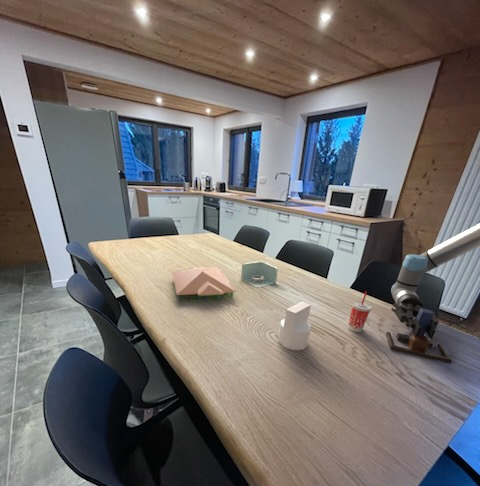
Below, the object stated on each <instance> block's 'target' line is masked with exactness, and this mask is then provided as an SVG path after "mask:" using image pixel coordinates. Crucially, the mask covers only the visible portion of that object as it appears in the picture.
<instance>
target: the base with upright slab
mask: <svg viewBox="0 0 480 486" xmlns="http://www.w3.org/2000/svg"><path fill="white" fill-rule="evenodd" d="M311 305H312V304H311V303H309V302H307V301H303V300H302V301H300V302H298V303H296V304H294V305H292V306H289V307H288V308H286V310H285V315H284V317H285V318H283V319H281V321H280V324H279V329H278V336H277V342H278V344H279V345H280V346H282V347H283V348H286V349H288V350H292V351H301V350H304V349H306V348H307V347H308V343H309V342H308V341H309V339H310V338H309V337H310V333H311V329H312V325H311V324H310V323H309V322H308V320H309V316H310V311H311V307H312V306H311Z"/></svg>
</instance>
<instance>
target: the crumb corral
mask: <svg viewBox="0 0 480 486" xmlns="http://www.w3.org/2000/svg"><path fill="white" fill-rule="evenodd" d="M385 336H386V339H387V342H388V345H389V349H390V350H391V351H395V352H399V353H404V354H407V355H408V354H409V355H412V356H417V357H421V358H425V359H429V360H435V361H438V362H443V363H447V364H451V363H452V362H453V361H452V358H451V356H450V355H449V353H448V351H447V350H446V349H445V347H444V345H443V343H441V342H437V343H436V347H437V349H438V351H439V352H440V354H441V355H438V354H435V353H429V352H421V351H416V350H412V349H410V348H406V347H404V346H403V347H402V346H398V345H395V342H394V339H393V337H392V334H391V332H390V331H386V334H385Z"/></svg>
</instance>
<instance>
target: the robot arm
mask: <svg viewBox="0 0 480 486" xmlns="http://www.w3.org/2000/svg"><path fill="white" fill-rule="evenodd" d="M479 247H480V222H479V223H477V224H475V225H473V226H471V227H469V228H467V229H466V230H464V231H462V232H460V233H458V234H456V235H454V236H452V237H451V238H449V239H447V240H445V241H444V242H442V243H439V244H437V245H436V246H434V247H432V248H430V249H428V250H427V251H424V252H423V253H420V254H414V253H413V254H407V255H406V256H405V258H404V260H403V261H402V265H401V268H400V270H399V273H398V277H397V280H396V282H395V283H394V284H393V285H392V286H391V289H390V292H391V297H392V298H393V300H394V302H395V303H393V304H392V307H391V311H392V312H393V313H394V314H395V315H396V317H397V319H398V320H399V322H400V323H406V324H405V326H406V327H409V328H410V329H413V331H414V333H415V335H416V336H419V334H420V331H421V329H422V328H421V326H420V324H419V323H418V321H417V319H416V317H417V315H418V312H419V310H420V308H422V309H426V308H425V307H424V304H423V302H422V300H421V299H420V297H419V296H418V294H417V293H416V292H417V289H418V287H419V285H420V282H421V280H422V277H423V275H425V274H426V273H428V272H430V271H432V270H434V269H436V268H438V267H440V266H442V265H444V264H446V263H448V262H451V261H453V260H454V259H457V258H459V257H460V256H463V255H465V254H467V253H469V252H471V251H474V250H476V249H478V248H479ZM431 311H432V312H433V314H434V315H433V317H432V319H431V321H430V324H429V326H428V328H427V330H426V333H425V334H426V335H427V336H428V337H427V338H428V339H429V340H433V339H434V336H435V334H436V333H437V331H436V329H437V327H438V325H439V323H440V321H439V319H438V318H437V315H436V311H435V310H431Z"/></svg>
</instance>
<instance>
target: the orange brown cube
mask: <svg viewBox="0 0 480 486" xmlns="http://www.w3.org/2000/svg"><path fill="white" fill-rule="evenodd" d="M429 340H430V339H429V338H428V337H427V336H426V335H424V336H423V335H419V336H416V335H415V334H414V333H412V334H411V337H410V339H409V342H408V343H407V346H408V347H409V348H408V349H412V350H416V351H421V352H425V353H427V350H428V348H429V347H428V345H429V343H430V342H429Z"/></svg>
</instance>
